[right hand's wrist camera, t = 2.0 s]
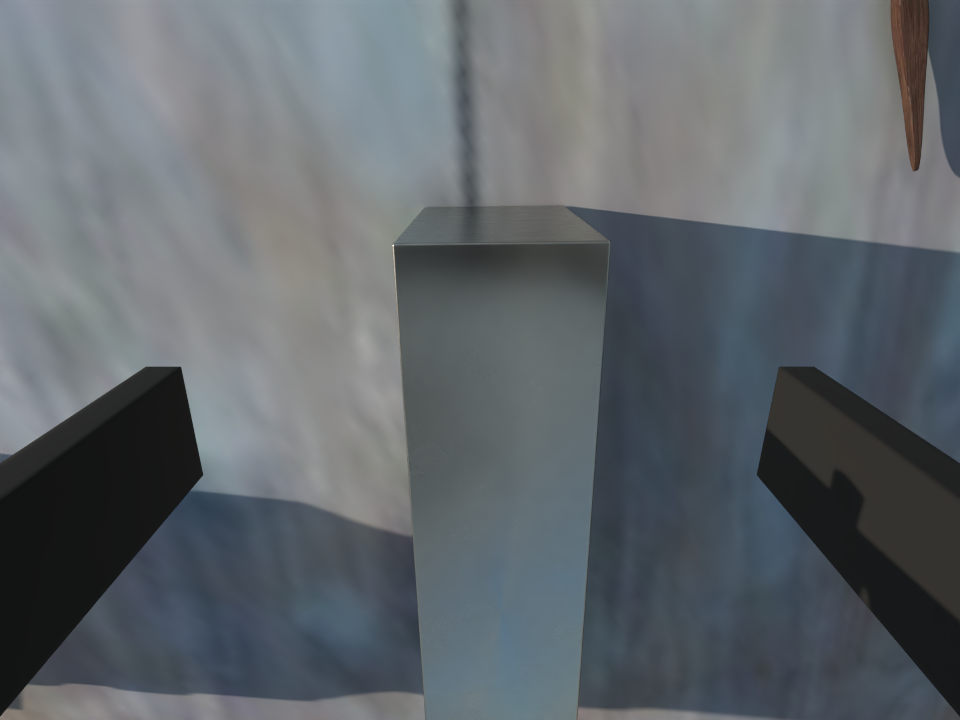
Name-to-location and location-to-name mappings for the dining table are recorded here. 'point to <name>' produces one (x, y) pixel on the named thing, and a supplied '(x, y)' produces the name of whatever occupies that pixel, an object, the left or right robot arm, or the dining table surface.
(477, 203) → the dining table surface
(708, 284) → the dining table surface
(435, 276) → the bar
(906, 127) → the fork
